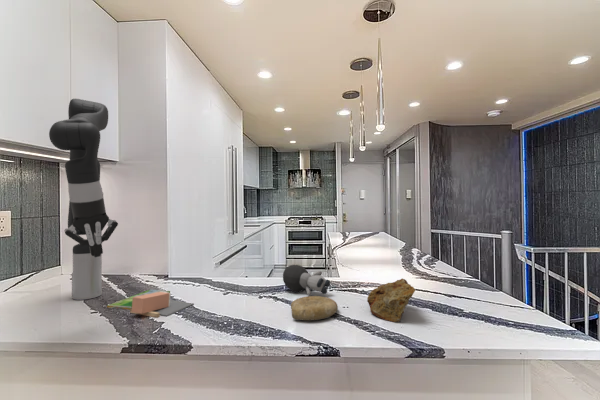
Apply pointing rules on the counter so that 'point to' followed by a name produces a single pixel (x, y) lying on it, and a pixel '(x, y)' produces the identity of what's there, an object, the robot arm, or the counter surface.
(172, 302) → the mat
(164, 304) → the block
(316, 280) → the toy
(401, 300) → the rock
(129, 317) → the counter surface
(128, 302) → the green flat panel
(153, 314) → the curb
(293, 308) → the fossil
